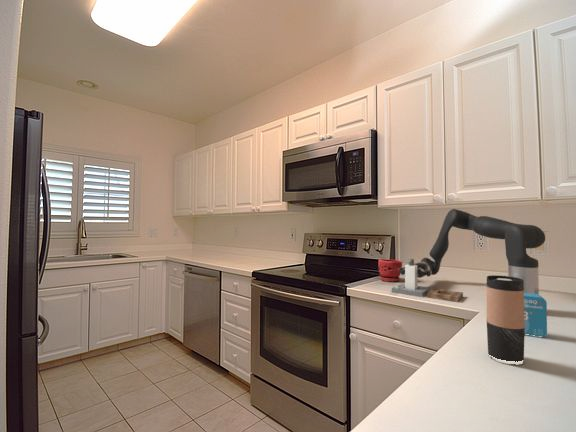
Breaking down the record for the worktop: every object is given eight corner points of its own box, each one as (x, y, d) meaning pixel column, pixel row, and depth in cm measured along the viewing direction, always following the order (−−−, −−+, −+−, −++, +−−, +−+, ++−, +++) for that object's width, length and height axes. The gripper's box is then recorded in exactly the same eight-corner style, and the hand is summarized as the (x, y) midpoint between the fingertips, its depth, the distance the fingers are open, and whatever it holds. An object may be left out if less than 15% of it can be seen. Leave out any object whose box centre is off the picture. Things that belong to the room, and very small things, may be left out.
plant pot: (397, 283, 164) (397, 262, 164) (374, 280, 172) (374, 260, 172) (405, 280, 174) (405, 259, 174) (383, 277, 182) (383, 258, 183)
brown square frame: (462, 296, 135) (462, 292, 135) (457, 302, 126) (457, 297, 126) (434, 292, 143) (434, 288, 143) (427, 297, 134) (427, 292, 134)
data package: (497, 331, 92) (496, 292, 92) (495, 326, 96) (495, 289, 96) (547, 339, 86) (546, 297, 86) (543, 333, 90) (542, 294, 90)
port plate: (430, 291, 145) (430, 286, 145) (422, 297, 134) (422, 291, 134) (401, 287, 154) (401, 282, 154) (391, 292, 143) (391, 286, 143)
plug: (417, 291, 144) (417, 259, 145) (414, 293, 141) (414, 260, 141) (408, 290, 147) (407, 258, 148) (405, 292, 144) (405, 259, 144)
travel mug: (526, 358, 74) (525, 277, 74) (524, 369, 68) (523, 282, 68) (489, 349, 79) (488, 274, 79) (484, 359, 73) (483, 278, 73)
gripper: (407, 261, 161) (396, 264, 149) (435, 263, 152) (426, 267, 140) (407, 274, 161) (396, 279, 149) (435, 278, 152) (426, 283, 139)
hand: (410, 273), depth 144 cm, fingers open, 8 cm apart
